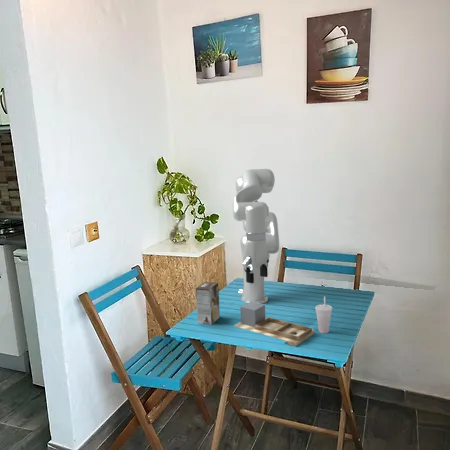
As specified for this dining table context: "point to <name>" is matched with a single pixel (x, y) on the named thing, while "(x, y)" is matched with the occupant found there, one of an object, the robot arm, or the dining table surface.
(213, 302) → the coffee box
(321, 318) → the smoothie
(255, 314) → the gray cube
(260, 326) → the board
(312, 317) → the dining table surface
